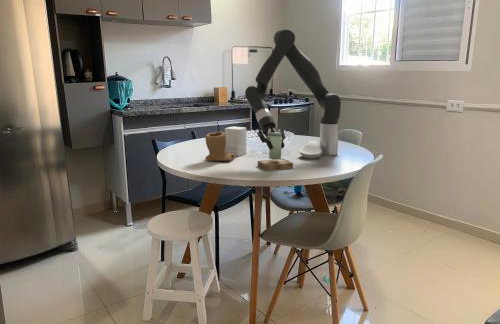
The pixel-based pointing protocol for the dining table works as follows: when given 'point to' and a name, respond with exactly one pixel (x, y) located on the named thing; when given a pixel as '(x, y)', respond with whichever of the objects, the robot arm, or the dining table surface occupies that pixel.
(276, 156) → the tea tin
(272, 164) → the dock
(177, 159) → the dining table surface
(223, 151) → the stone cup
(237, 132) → the supplement box
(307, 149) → the spoon rest
